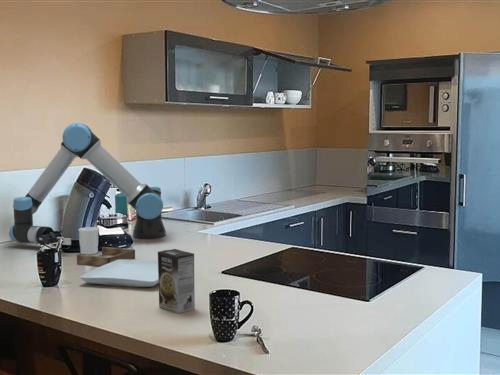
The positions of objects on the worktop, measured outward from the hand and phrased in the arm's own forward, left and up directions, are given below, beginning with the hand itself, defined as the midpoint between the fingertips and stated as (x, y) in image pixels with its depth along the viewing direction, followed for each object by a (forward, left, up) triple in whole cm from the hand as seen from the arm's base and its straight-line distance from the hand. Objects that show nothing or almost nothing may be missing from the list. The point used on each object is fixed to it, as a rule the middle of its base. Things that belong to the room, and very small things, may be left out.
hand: (81, 238), depth 243 cm
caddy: (-9, +20, -6) cm, 22 cm away
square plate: (-17, +49, -7) cm, 52 cm away
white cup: (-3, +2, -6) cm, 7 cm away
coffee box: (-25, +87, -6) cm, 90 cm away
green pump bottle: (-21, -64, -6) cm, 68 cm away
